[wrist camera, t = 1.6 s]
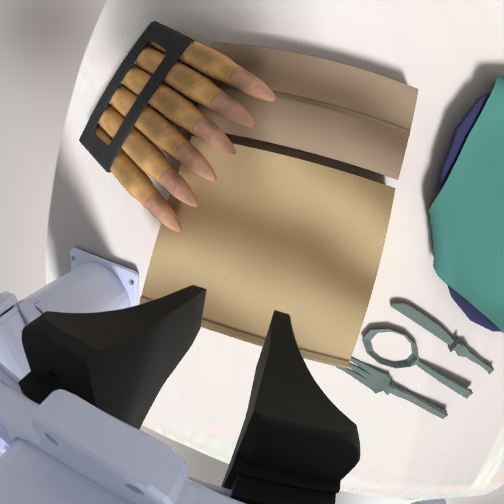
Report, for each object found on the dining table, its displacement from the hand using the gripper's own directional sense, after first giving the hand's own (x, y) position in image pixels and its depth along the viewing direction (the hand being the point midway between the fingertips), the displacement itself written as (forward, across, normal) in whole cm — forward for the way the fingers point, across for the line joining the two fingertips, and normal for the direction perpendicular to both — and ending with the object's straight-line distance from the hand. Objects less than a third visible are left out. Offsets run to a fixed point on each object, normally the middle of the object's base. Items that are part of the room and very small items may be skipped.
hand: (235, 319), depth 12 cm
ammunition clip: (+8, +14, -10) cm, 19 cm away
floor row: (+9, 0, -10) cm, 14 cm away
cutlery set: (+10, -18, -4) cm, 21 cm away
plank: (+7, 0, -1) cm, 7 cm away
